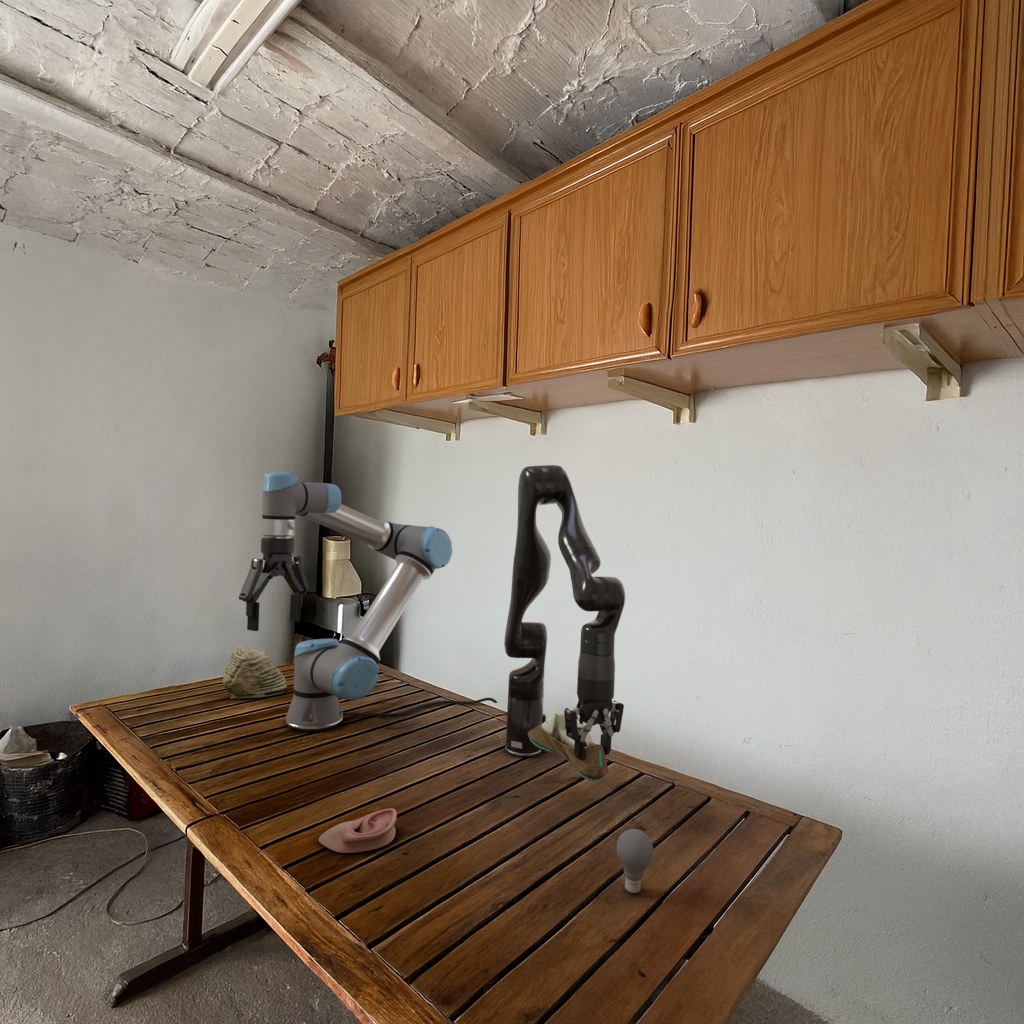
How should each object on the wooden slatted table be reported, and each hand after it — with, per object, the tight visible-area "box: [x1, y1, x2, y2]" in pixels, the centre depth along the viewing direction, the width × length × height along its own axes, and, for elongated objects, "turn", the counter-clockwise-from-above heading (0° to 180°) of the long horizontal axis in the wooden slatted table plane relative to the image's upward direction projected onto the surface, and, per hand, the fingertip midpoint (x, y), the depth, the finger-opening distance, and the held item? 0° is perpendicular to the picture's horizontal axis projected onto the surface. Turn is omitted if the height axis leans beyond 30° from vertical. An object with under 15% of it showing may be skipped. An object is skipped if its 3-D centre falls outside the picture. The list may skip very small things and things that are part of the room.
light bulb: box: [615, 828, 654, 894], centre depth 106 cm, size 6×6×10 cm
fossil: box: [222, 646, 288, 699], centre depth 198 cm, size 9×18×15 cm, turn 132°
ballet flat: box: [528, 712, 609, 782], centre depth 137 cm, size 8×24×9 cm, turn 29°
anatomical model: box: [318, 807, 398, 854], centre depth 118 cm, size 13×4×12 cm
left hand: (274, 625), depth 152 cm, fingers open, 13 cm apart
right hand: (592, 755), depth 129 cm, fingers closed on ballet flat, 5 cm apart
